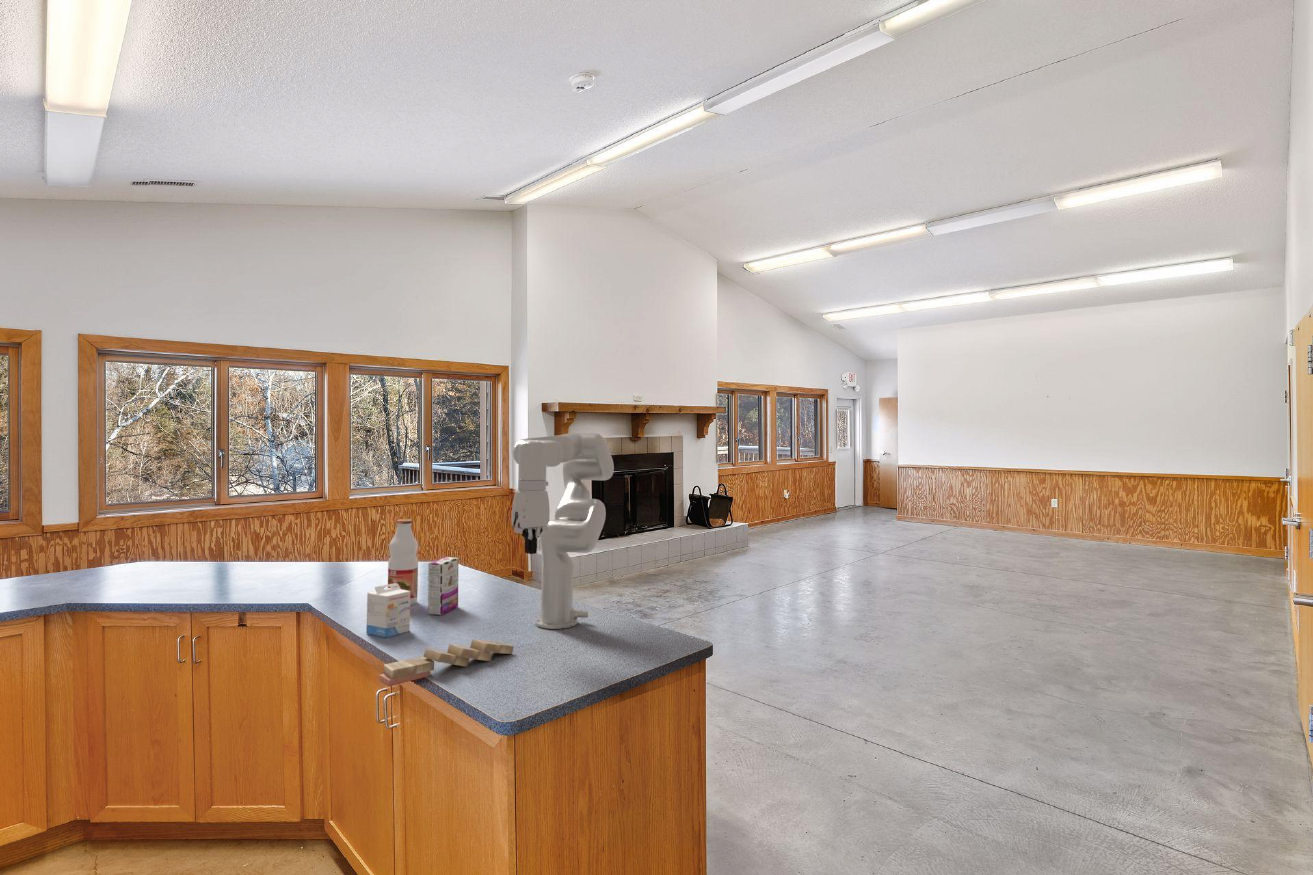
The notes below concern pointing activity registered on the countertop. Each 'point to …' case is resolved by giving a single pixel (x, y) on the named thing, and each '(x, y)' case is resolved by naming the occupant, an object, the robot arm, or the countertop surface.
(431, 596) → the candy bar box
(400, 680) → the domino
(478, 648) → the domino
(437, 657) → the domino
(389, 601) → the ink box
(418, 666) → the domino
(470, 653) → the domino
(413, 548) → the fruit juice
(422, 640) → the countertop surface
